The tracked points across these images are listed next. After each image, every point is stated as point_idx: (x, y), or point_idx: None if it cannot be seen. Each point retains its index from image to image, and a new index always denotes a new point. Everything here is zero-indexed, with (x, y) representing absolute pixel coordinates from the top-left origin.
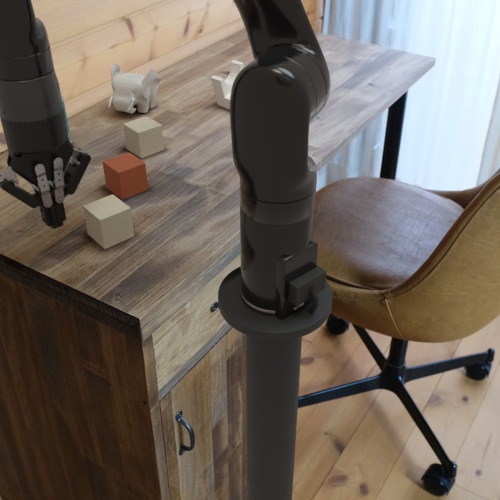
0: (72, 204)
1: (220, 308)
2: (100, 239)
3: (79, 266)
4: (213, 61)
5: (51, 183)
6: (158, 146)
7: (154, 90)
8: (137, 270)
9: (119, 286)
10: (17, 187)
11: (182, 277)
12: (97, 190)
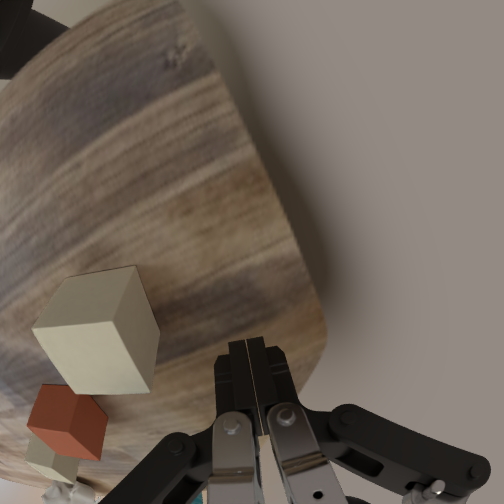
0: (169, 410)
1: (22, 14)
2: (136, 290)
3: (214, 229)
4: (16, 475)
5: (258, 493)
6: (36, 438)
7: (49, 489)
8: (87, 141)
9: (151, 95)
10: (430, 477)
11: (21, 76)
12: (123, 419)
